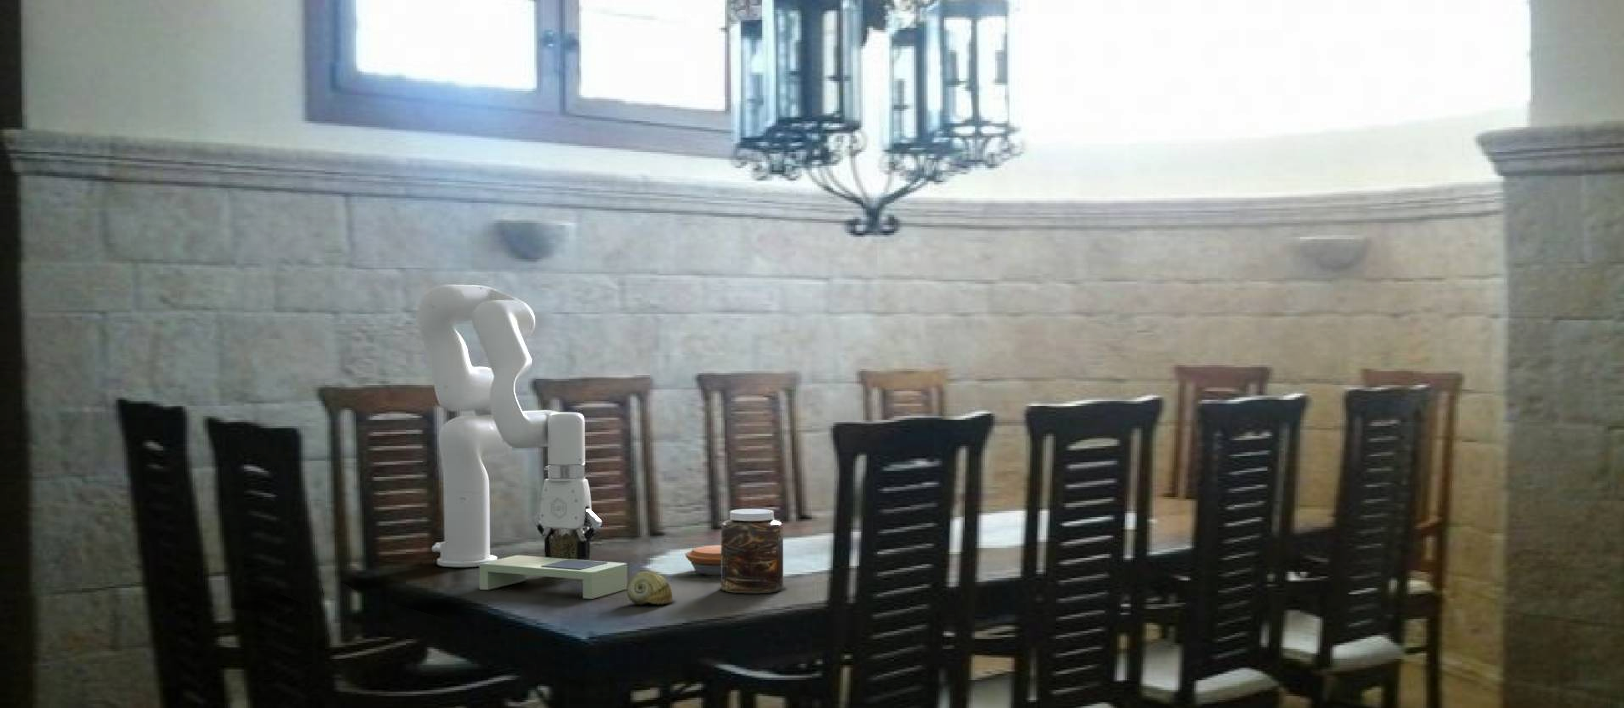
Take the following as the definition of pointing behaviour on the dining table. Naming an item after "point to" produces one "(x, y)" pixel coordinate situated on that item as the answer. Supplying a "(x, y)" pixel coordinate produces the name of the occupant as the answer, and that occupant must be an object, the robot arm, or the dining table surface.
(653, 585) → the seashell
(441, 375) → the robot arm
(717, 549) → the pie
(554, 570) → the shelf
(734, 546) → the jar
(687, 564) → the dining table surface
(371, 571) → the dining table surface
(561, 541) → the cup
